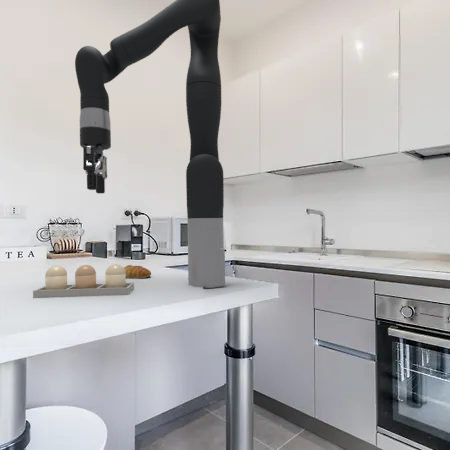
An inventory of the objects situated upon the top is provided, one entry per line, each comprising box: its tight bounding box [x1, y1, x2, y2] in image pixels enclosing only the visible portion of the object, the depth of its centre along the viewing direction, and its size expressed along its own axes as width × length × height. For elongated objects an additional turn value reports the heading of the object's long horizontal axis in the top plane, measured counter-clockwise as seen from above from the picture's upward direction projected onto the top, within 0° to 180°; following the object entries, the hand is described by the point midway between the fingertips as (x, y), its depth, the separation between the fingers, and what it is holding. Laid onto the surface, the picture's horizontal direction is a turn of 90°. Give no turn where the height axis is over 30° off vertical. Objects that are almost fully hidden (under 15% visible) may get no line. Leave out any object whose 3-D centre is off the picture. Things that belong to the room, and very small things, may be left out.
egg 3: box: [104, 263, 127, 288], centre depth 79 cm, size 4×4×6 cm
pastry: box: [123, 264, 152, 280], centre depth 106 cm, size 9×7×4 cm
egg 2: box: [74, 264, 97, 289], centre depth 78 cm, size 4×4×6 cm
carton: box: [32, 282, 135, 299], centre depth 78 cm, size 20×7×2 cm, turn 95°
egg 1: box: [44, 265, 68, 290], centre depth 77 cm, size 4×4×6 cm
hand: (96, 191), depth 89 cm, fingers open, 8 cm apart
